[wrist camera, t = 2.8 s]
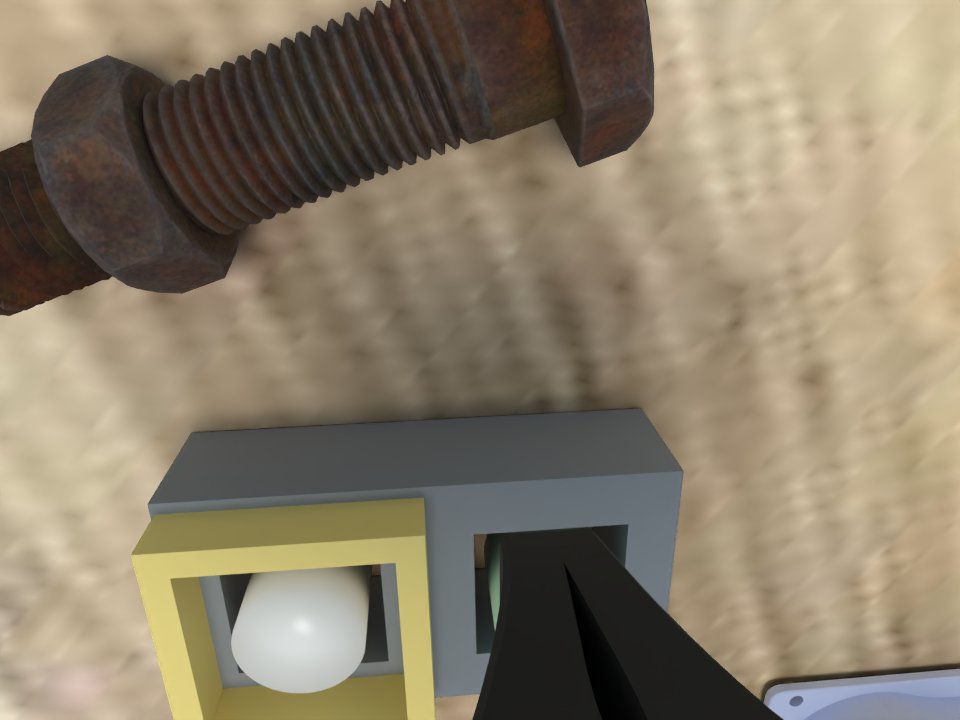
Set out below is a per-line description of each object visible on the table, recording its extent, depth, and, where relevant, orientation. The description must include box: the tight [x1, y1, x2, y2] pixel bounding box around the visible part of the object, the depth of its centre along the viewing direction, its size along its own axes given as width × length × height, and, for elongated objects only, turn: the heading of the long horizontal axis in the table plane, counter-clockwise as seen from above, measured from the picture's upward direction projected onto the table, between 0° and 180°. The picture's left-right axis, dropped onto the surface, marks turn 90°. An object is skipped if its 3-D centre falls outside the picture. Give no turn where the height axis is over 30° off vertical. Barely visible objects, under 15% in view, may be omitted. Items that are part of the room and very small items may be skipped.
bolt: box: [0, 0, 654, 316], centre depth 15 cm, size 6×5×15 cm
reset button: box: [231, 565, 372, 693], centre depth 18 cm, size 3×3×3 cm
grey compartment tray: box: [131, 408, 683, 720], centre depth 19 cm, size 7×13×5 cm, turn 91°
